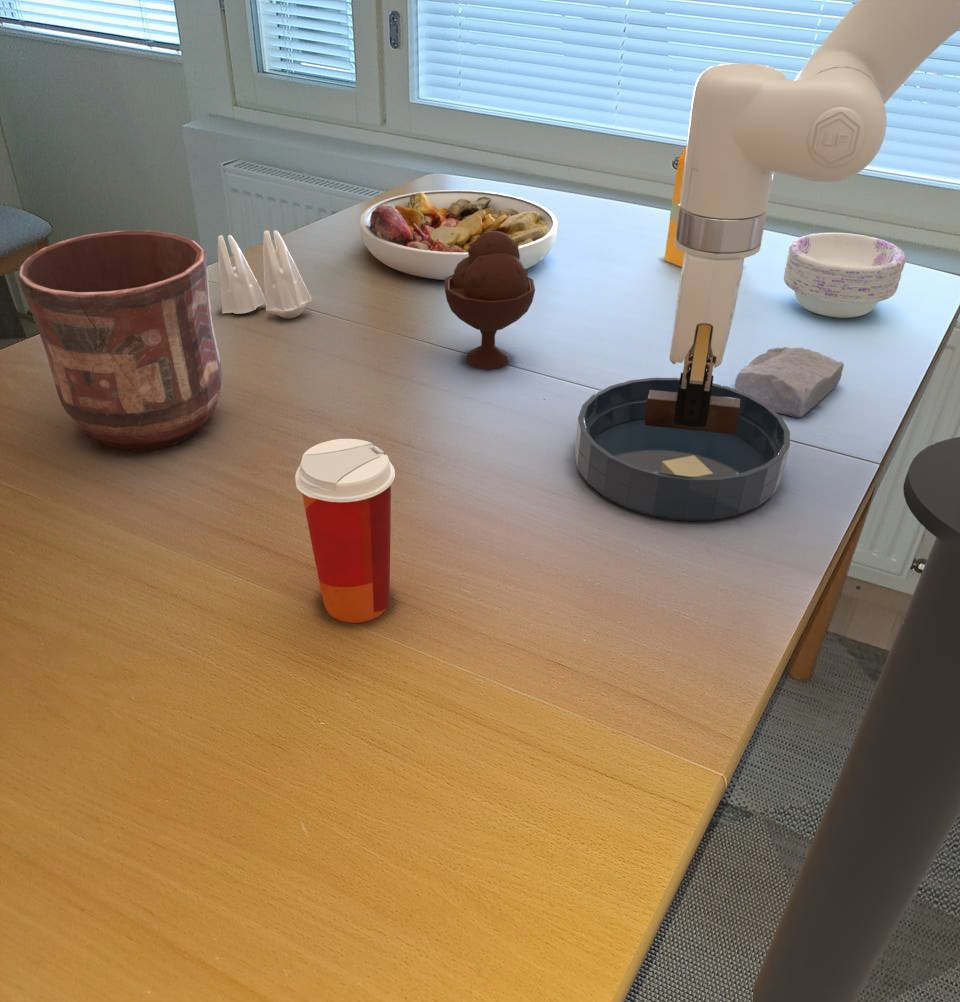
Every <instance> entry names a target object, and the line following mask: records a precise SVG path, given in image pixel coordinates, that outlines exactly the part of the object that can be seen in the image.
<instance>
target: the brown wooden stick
mask: <svg viewBox="0 0 960 1002" xmlns="http://www.w3.org/2000/svg"><path fill="white" fill-rule="evenodd" d="M677 394H678V393H677V392H666V391H656V390H650V391H649V395H648V400H647V408H646V417H645V425H647V426H656V427H666V428H676V429H685V430H695V431H705V432H714V433H724V434H735V431H736V425H737V420H738V415H739V409H740V399H739V398H729V397H718V396H711V399H710V405H709V411H708V417H707V423H706V426H704V427H695V426H686V425H677V424H675V423H674V415H675V408H676V401H677Z"/></svg>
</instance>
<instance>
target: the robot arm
mask: <svg viewBox="0 0 960 1002" xmlns="http://www.w3.org/2000/svg"><path fill="white" fill-rule="evenodd" d="M959 30H960V0H857V1H856V2H855V3H854V4H853V6H852V7H851V8H849V10H848V12H847V13H846V14H845V15H844V16H843V18H842V19H841V20H840V21H839V22H838V24H837V25H836V26H835V28H834V29H833V30H832V31H831V32H830V33H829V34H828V36H827V37H826V38H825V39H824V41H823V42H822V43H821V45H819V47H818V48H817V49H816V51H814V53H813V54H812V55H811V56H810V58H809V59H808V61H807V62H806V63H805V64H804V66H803V67H802V68H801V70H800V71H799V73H798V74H797V76H796V77H795V79H787V77H786V75H785V74H784V73H783V72H782V71H781V70H780V69H777V68H775V67H772V66H769V65H764V64H758V63H757V64H756V63H744V62H743V63H741V62H739V63H738V62H737V63H736V62H735V63H722V64H721V63H720V64H717V65H714V66H710V67H708V68H707V69H705V70H704V71H702V72H701V73H700V75H699V76H698V78H697V80H696V82H695V85H694V88H693V94H692V102H691V109H690V110H691V111H690V117H689V124H688V133H687V142H686V145H687V148H686V156H685V164H684V173H683V181H682V189H681V197H680V205H679V213H678V221H677V229H676V237H675V246H676V247H677V248H678V249H679V250H681V251H682V252H685V255H684V260H683V265H682V267H681V271H680V278H679V284H678V290H677V299H676V307H675V314H674V321H673V328H672V337H671V344H670V352H669V358H668V359H669V361H670V363H671V364H672V365H676V364H677V363H679V364H682V363H683V364H684V365H683V368H682V369H683V371H682V372H680V377H679V378H680V383H679V387H678V394H677V401H676V408H675V415H674V423H675V424H677V425H686V426H695V427H704V426H706V423H707V417H708V411H709V405H710V399H711V393H712V383H714V375H713V371H714V369H716V368H717V367H719V366H721V365H722V362H723V359H724V355H725V351H726V348H727V344H728V340H729V337H730V333H731V328H732V323H733V319H734V315H735V310H736V306H737V301H738V300H737V299H738V295H739V290H740V284H741V280H742V273H743V269H744V263H745V259H746V258H749V257H752V256H755V255H757V253H759V252H760V250H761V247H762V240H763V236H764V229H765V225H766V219H767V213H768V206H769V202H770V196H771V191H772V185H773V180H774V175H775V173H777V174H783V175H787V176H790V177H795V178H798V179H802V180H808V181H812V182H819V183H833V182H834V183H835V182H839V181H843V180H846V179H850V178H852V177H855V176H856V175H857V174H859V173H860V172H862V171H863V170H864V169H865V168H867V167H868V166H869V165H870V164H871V163H872V162H873V160H874V159H875V157H876V156H877V154H878V152H879V151H880V150H881V148H882V145H883V143H884V140H885V136H886V132H887V112H886V107H885V105H886V104H887V102H888V101H889V99H891V97H893V95H894V94H895V93H896V92H897V91H898V89H899V88H901V87H902V85H903V84H904V83H905V82H906V81H907V80H908V79H909V78H910V76H912V75H913V73H914V72H915V71H916V70H917V69H918V68H919V67H920V66H921V65H922V64H923V63H924V62H925V61H926V60H927V59H928V58H929V57H930V56H931V55H932V54H934V52H935V51H936V50H937V49H938V48H939V47H941V46H942V45H943V44H944V43H945V42H946V41H947V40H948V39H949V38H951V37H952V36H953V35H954V34H956V33H957V32H958V31H959Z"/></svg>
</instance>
